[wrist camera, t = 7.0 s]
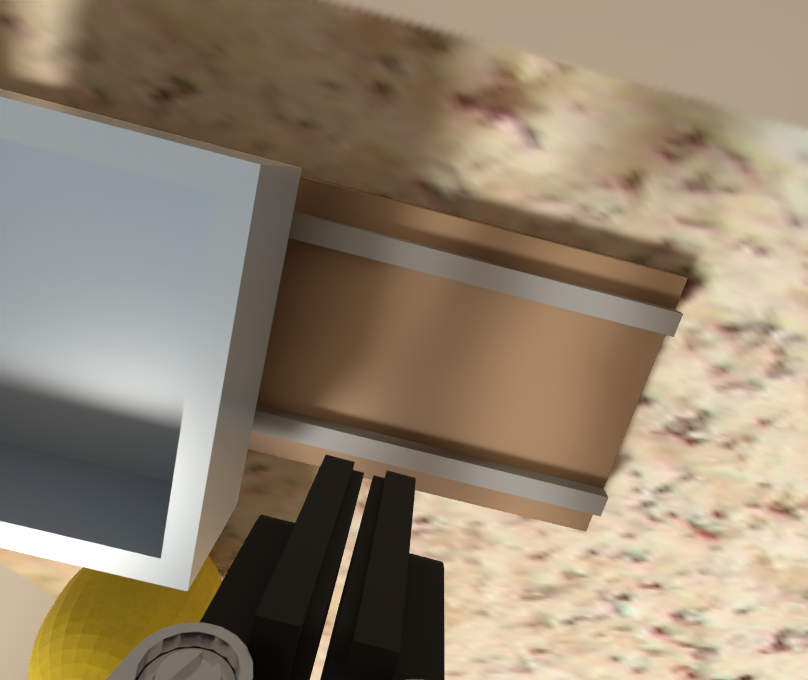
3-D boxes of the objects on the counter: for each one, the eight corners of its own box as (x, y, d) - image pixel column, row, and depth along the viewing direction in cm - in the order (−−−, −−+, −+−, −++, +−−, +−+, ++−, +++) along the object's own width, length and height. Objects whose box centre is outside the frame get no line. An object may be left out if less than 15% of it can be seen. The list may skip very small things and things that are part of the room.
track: (674, 272, 19) (736, 296, 16) (579, 516, 22) (611, 587, 18) (-76, 76, 19) (-207, 50, 15) (-78, 356, 21) (-188, 395, 18)
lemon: (92, 524, 23) (-72, 696, 16) (206, 474, 22) (92, 630, 15) (164, 624, 25) (45, 828, 17) (274, 580, 24) (202, 775, 16)
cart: (315, 168, 17) (260, 164, 11) (255, 473, 20) (187, 591, 14) (-37, 76, 17) (-277, 24, 11) (-45, 400, 20) (-237, 492, 14)
